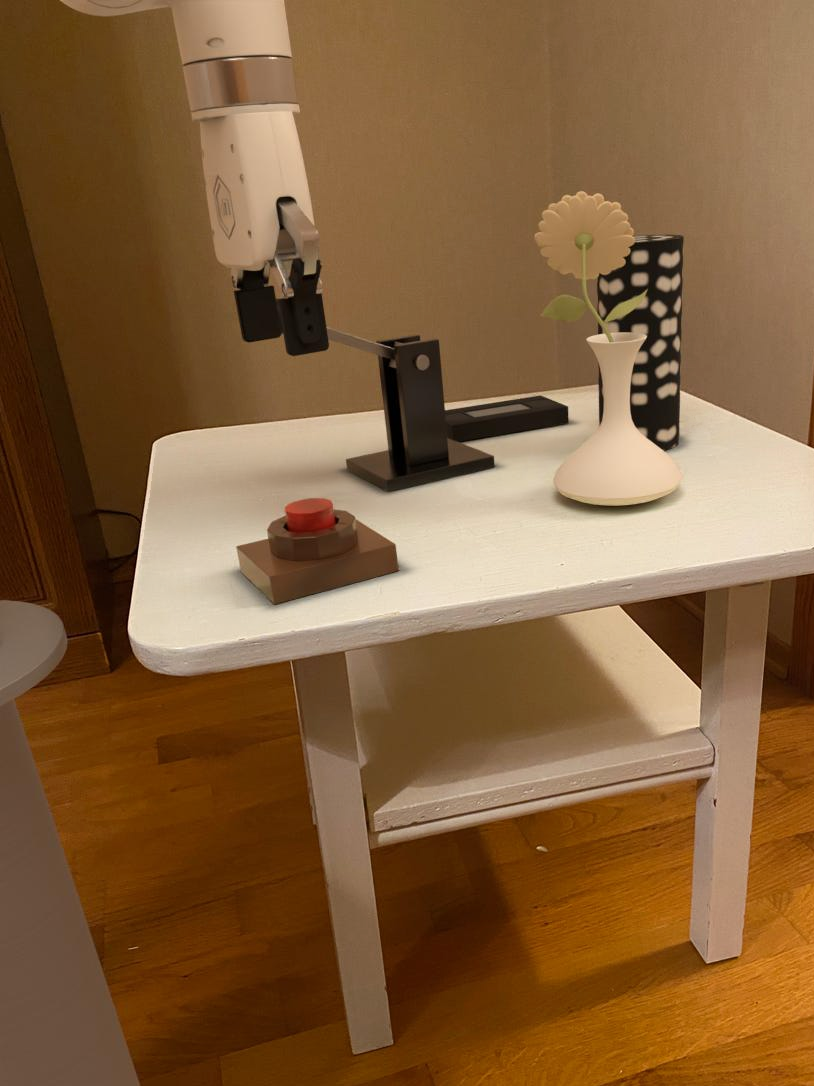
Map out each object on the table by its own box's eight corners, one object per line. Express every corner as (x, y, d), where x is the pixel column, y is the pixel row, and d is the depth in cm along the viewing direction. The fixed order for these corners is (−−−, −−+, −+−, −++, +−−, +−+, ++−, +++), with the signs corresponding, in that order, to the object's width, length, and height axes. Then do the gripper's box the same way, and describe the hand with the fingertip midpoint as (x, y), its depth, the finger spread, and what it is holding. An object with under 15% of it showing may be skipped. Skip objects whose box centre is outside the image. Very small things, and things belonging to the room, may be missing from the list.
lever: (258, 331, 84) (267, 294, 83) (247, 328, 86) (255, 291, 86) (424, 381, 93) (433, 348, 93) (409, 376, 96) (418, 344, 95)
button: (298, 539, 71) (294, 516, 70) (281, 526, 74) (277, 504, 73) (343, 528, 72) (340, 506, 71) (325, 516, 75) (322, 494, 74)
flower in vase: (701, 484, 87) (711, 181, 76) (651, 524, 79) (654, 189, 68) (573, 471, 94) (565, 190, 83) (514, 506, 85) (497, 198, 74)
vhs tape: (430, 429, 113) (429, 412, 112) (541, 411, 117) (540, 395, 116) (453, 443, 106) (451, 425, 106) (568, 423, 111) (568, 406, 110)
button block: (274, 604, 69) (265, 553, 67) (240, 572, 75) (231, 524, 74) (399, 571, 73) (393, 521, 72) (357, 542, 80) (351, 496, 78)
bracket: (387, 492, 92) (372, 355, 86) (346, 470, 100) (329, 343, 94) (495, 467, 97) (486, 336, 91) (448, 448, 105) (437, 326, 99)
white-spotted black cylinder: (598, 455, 98) (594, 245, 89) (600, 434, 106) (597, 238, 97) (680, 452, 97) (685, 239, 88) (677, 431, 104) (681, 232, 96)
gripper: (157, 108, 72) (204, 342, 80) (231, 83, 59) (279, 367, 66) (252, 103, 75) (288, 328, 83) (342, 78, 62) (376, 350, 70)
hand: (284, 345), depth 75 cm, fingers open, 9 cm apart
